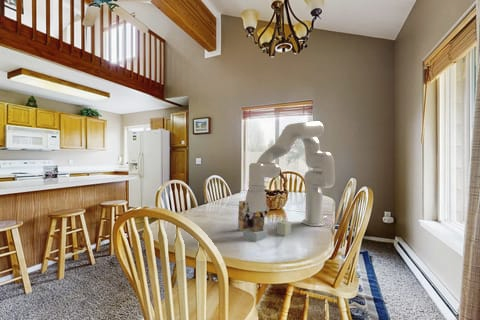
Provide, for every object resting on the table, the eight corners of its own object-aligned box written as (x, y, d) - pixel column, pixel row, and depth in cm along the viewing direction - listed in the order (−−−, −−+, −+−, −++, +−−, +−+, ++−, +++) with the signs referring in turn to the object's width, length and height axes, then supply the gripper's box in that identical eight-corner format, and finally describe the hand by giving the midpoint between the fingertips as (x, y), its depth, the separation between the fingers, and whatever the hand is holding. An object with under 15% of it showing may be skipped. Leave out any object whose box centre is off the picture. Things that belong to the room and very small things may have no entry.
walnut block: (257, 227, 115) (257, 215, 115) (263, 230, 111) (263, 218, 111) (248, 229, 113) (249, 216, 112) (254, 232, 108) (254, 219, 108)
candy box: (242, 231, 120) (242, 202, 120) (237, 229, 124) (238, 200, 124) (255, 228, 125) (256, 200, 125) (251, 226, 129) (251, 199, 128)
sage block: (282, 231, 121) (282, 220, 121) (290, 233, 118) (291, 222, 118) (276, 233, 118) (277, 221, 118) (285, 236, 114) (285, 224, 114)
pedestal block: (254, 234, 117) (254, 226, 117) (267, 238, 112) (267, 230, 112) (243, 238, 112) (243, 229, 112) (256, 242, 106) (256, 233, 106)
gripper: (266, 186, 119) (265, 221, 119) (237, 188, 110) (236, 226, 110) (275, 188, 112) (274, 225, 113) (245, 190, 104) (244, 230, 104)
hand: (255, 225), depth 112 cm, fingers open, 6 cm apart
